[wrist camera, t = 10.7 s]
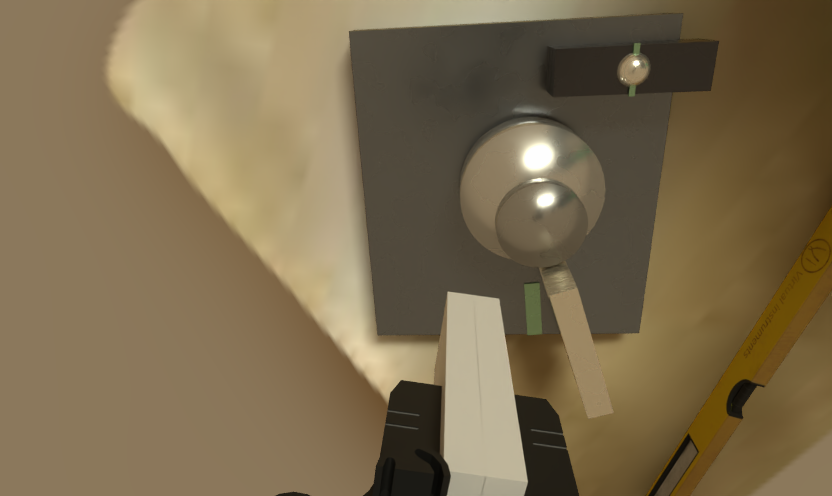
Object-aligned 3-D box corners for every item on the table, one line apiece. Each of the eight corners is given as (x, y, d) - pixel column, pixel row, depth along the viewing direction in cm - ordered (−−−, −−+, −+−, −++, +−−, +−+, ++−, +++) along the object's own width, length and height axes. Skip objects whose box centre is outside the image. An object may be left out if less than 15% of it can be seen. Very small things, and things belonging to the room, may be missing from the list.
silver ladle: (441, 144, 32) (439, 172, 26) (576, 96, 30) (603, 115, 24) (522, 369, 38) (534, 431, 32) (637, 339, 36) (671, 399, 30)
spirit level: (852, 163, 33) (888, 177, 30) (872, 169, 33) (909, 184, 31) (624, 521, 47) (635, 553, 44) (639, 525, 47) (650, 557, 44)
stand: (687, 12, 30) (729, 12, 26) (644, 318, 38) (670, 359, 34) (355, 30, 32) (338, 33, 27) (381, 320, 40) (371, 360, 35)
